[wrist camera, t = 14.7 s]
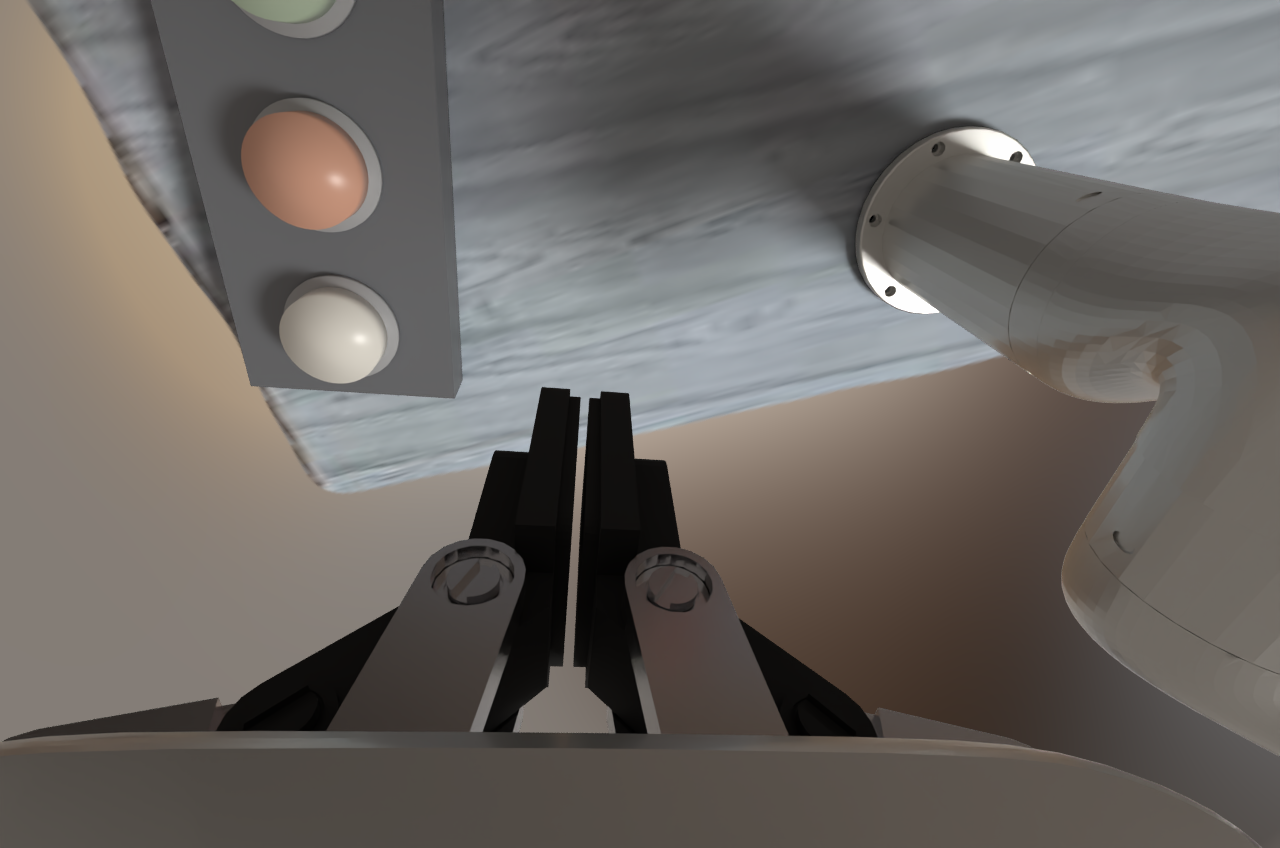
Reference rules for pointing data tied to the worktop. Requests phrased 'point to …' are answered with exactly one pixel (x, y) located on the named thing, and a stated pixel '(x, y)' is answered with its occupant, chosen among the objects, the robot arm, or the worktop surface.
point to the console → (396, 163)
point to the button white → (333, 335)
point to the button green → (287, 9)
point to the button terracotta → (304, 169)
